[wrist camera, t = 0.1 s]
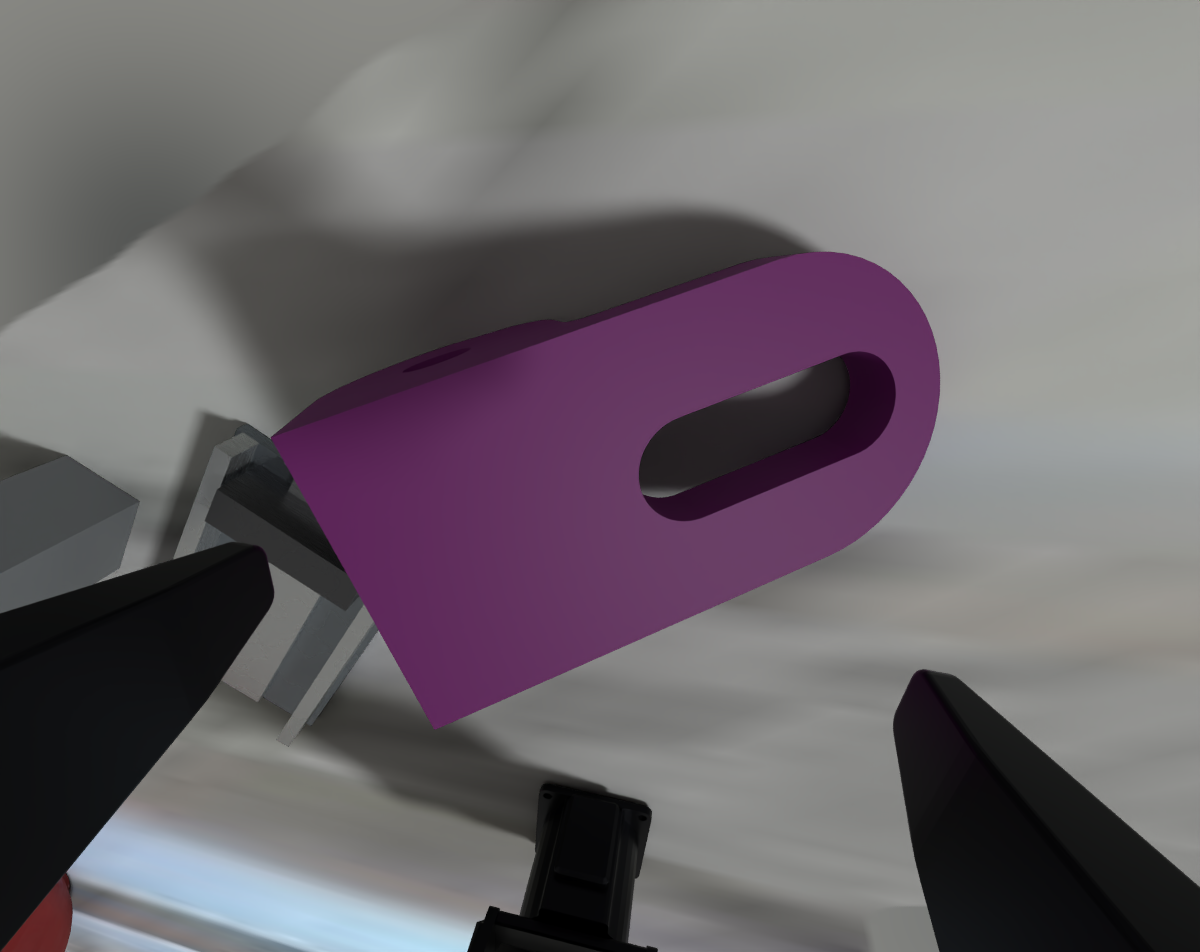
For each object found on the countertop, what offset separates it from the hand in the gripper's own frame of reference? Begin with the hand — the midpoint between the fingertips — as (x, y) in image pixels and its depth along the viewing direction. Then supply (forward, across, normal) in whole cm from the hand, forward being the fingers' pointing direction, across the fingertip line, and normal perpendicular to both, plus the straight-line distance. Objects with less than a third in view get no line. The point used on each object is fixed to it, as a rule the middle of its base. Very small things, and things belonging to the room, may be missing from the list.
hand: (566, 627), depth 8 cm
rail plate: (+15, +18, +15) cm, 27 cm away
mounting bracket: (+15, 0, +2) cm, 15 cm away
